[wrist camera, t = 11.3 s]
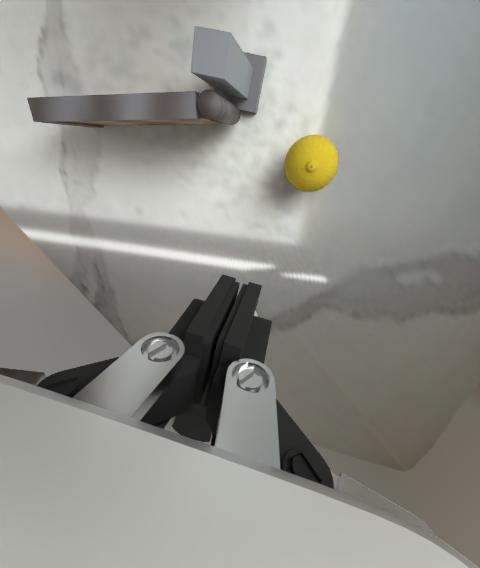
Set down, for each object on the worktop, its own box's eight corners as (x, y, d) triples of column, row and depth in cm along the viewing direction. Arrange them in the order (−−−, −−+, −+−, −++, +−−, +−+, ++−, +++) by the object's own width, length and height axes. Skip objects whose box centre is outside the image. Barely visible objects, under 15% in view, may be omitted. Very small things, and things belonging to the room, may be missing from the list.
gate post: (222, 50, 30) (182, 3, 20) (266, 59, 29) (248, 15, 19) (215, 104, 32) (176, 85, 22) (256, 113, 31) (235, 98, 22)
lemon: (318, 125, 31) (322, 118, 24) (343, 167, 32) (354, 173, 25) (277, 157, 33) (270, 160, 26) (302, 196, 34) (302, 208, 27)
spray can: (213, 299, 44) (153, 400, 27) (254, 294, 42) (217, 398, 25) (225, 333, 47) (177, 445, 29) (263, 329, 45) (237, 447, 27)
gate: (242, 105, 31) (219, 89, 23) (242, 125, 32) (220, 117, 24) (89, 109, 35) (22, 97, 26) (93, 127, 36) (29, 121, 27)
